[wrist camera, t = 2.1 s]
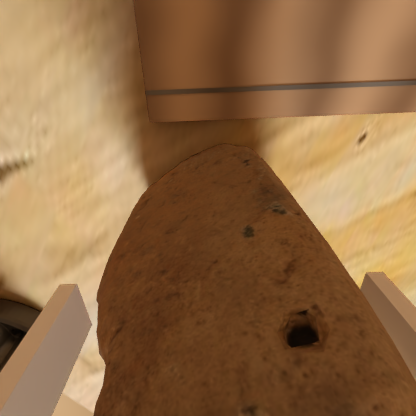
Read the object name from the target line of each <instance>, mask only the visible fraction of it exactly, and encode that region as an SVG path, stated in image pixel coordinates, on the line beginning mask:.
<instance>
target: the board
mask: <svg viewBox="0 0 416 416" xmlns="http://www.w3.org/2000/svg"><path fill="white" fill-rule="evenodd" d="M133 2H134V9H135V16H136V24H137V31H138V39H139V46H140V54H141V61H142V69H143V76H144V83H145V93H146V98H147V106H148V113H149V121H150V122H175V121H201V120H226V119H251V118H277V117H302V116H327V115H353V114H378V113H403V112H416V0H133Z"/></svg>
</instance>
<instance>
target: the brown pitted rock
mask: <svg viewBox="0 0 416 416" xmlns="http://www.w3.org/2000/svg"><path fill="white" fill-rule="evenodd" d="M97 302H98V319H97V320H98V325H97V338H98V345H99V354H100V355H101V357H102V358H103V359H104V361H105V364H106V367H105V375H104V382H103V387H102V389H101V392H100V395H99V397H98V400H97V402H96V406H95V411H94V416H416V381H415V379H414V377H413V375H412V374H411V372H410V370H409V368H408V367H407V365H406V363H405V361H404V359H403V358H402V356H401V354H400V352H399V351H398V349H397V347H396V345H395V344H394V342H393V340H392V338H391V337H390V335H389V334H388V332H387V330H386V329H385V327H384V326H383V324H382V323H381V321H380V319H379V318H378V316H377V315H376V313H375V311H374V310H373V308H372V307H371V305H370V304H369V302H368V300H367V299H366V297H365V296H364V294H363V293H362V291H361V290H360V289H359V287H358V286H357V285H356V283H355V282H354V281H353V279H352V278H351V276H350V275H349V274H348V272H347V271H346V269H345V268H344V266H343V265H342V263H341V262H340V260H339V259H338V257H337V256H336V254H335V253H334V251H333V250H332V248H331V247H330V245H329V244H328V242H327V241H326V240H325V239H324V237H323V236H322V235H321V233H320V232H319V231H318V229H317V228H316V227H315V225H314V224H313V223H312V221H311V220H310V219H309V217H308V216H307V215H306V213H305V212H304V211H303V209H302V208H301V207H300V206H299V204H298V203H297V202H296V200H295V199H294V197H293V196H292V195H291V193H290V192H289V191H288V190H287V188H286V187H285V186H284V184H283V183H282V181H281V180H280V179H279V178H278V177H277V176H276V174H275V173H274V172H273V170H272V169H271V168H270V166H269V165H268V164H267V163H266V162H265V161H264V160H263V159H262V158H260V157H259V155H258V154H257V153H256V152H255V151H253V150H252V149H251V148H249V147H246V146H234V145H232V144H221V145H218V146H215V147H212V148H209V149H207V150H204V151H202V152H200V153H199V154H196V155H193V156H191V157H190V158H189V159H187V160H185V161H183V162H181V163H180V164H179V165H178V166H177V167H175V168H174V169H173V170H171V171H169V172H168V173H166V174H165V175H164V176H163V177H162V178H161V179H160V180H159V181H158V182H156V183H154V184H152V185H151V186H150V187H149V188H148V189H147V190H146V191H145V192H144V194H143V195H142V196H141V198H140V199H139V201H138V203H137V204H136V205H135V207H134V209H133V211H132V213H131V215H130V217H129V219H128V221H127V223H126V224H125V226H124V229H123V231H122V233H121V234H120V236H119V238H118V240H117V242H116V244H115V246H114V249H113V251H112V253H111V255H110V257H109V259H108V262H107V265H106V268H105V270H104V273H103V276H102V279H101V282H100V286H99V289H98V292H97Z"/></svg>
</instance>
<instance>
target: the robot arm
mask: <svg viewBox="0 0 416 416" xmlns="http://www.w3.org/2000/svg"><path fill="white" fill-rule="evenodd" d="M360 290H361V291H362V293H363V294H364V296H365V297H366V299H367V300H368V302H369V304H370V305H371V307H372V308H373V310H374V311H375V313H376V315H377V316H378V318H379V319H380V321H381V323H382V324H383V326H384V327H385V329H386V330H387V332H388V334H389V335H390V337H391V338H392V340H393V342H394V344H395V345H396V347H397V349H398V351H399V352H400V354H401V356H402V358H403V359H404V361H405V363H406V365H407V367H408V368H409V370H410V372H411V374H412V375H413V377H414V379H415V381H416V307H415V306H414V305H413V304H412V303H411V302H410V301H409V300H408V299H407V298H406V297H405V295H404V294H403V293H402V292H401V291H400V290H399V289H398V288H397V287H396V286H395V285H394V283H393V282H392V281H391V280H390V279H389V278H388V277H387V276H386V275H385V274H384V273H383V272H368V273H366V274H365V277H364V280H363V283H362V286H361V289H360ZM91 326H92V323H91V321H90V318H89V315H88V313H87V310H86V307H85V304H84V302H83V299H82V296H81V294H80V291H79V288H78V286H77V284H63V285H59V287H58V288H57V290H56V291H55V293H54V294H53V296H52V297H51V298H50V300H49V301H48V303H47V304H46V306H45V307H44V309H43V310H42V312H39V311H37V310H35V309H33V308H31V307H28V306H25V305H23V304H20V303H16V302H13V301H8V300H3V299H0V416H52V414H53V412H54V409H55V407H56V405H57V403H58V400H59V398H60V396H61V394H62V391H63V389H64V387H65V385H66V382H67V380H68V378H69V375H70V373H71V371H72V369H73V366H74V364H75V362H76V360H77V357H78V355H79V353H80V351H81V348H82V346H83V344H84V342H85V339H86V337H87V335H88V332H89V330H90V328H91Z"/></svg>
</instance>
